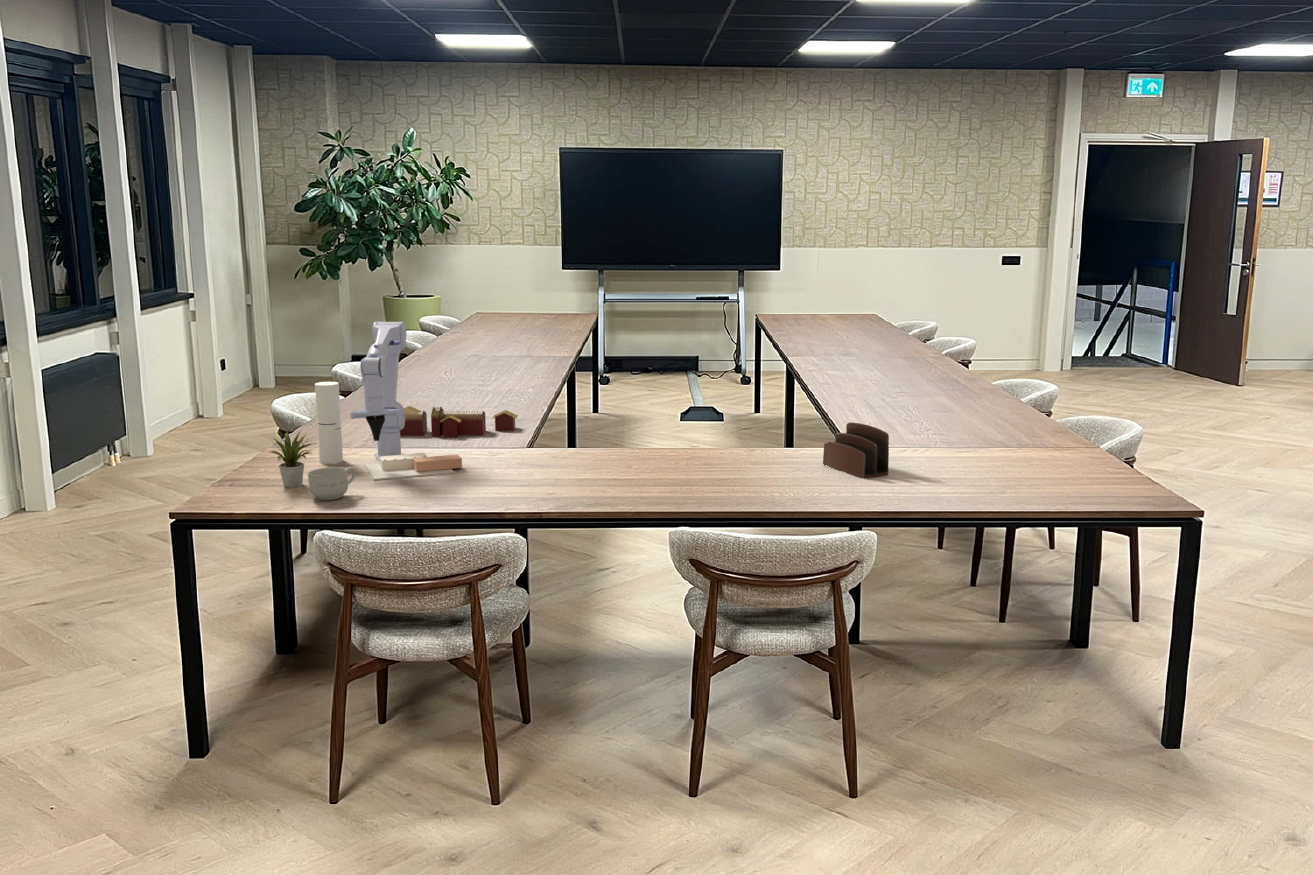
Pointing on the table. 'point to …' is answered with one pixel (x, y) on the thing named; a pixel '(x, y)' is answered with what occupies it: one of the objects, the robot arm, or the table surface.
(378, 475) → the mat
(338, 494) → the teacup
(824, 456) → the letter holder
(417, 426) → the toy houses
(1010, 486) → the table surface
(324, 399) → the cylindrical container
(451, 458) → the stub
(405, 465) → the ticket book
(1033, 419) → the table surface
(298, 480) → the house plant
